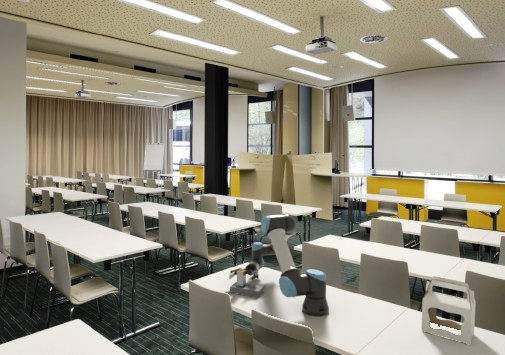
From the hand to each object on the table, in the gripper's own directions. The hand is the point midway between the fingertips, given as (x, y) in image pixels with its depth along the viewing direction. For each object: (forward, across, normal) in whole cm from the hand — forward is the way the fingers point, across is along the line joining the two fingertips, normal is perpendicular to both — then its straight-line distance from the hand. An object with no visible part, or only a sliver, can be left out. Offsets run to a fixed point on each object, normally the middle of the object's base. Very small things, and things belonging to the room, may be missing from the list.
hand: (239, 278), depth 241 cm
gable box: (+6, -119, -10) cm, 120 cm away
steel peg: (-3, 0, -10) cm, 10 cm away
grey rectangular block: (-3, -4, -10) cm, 11 cm away
